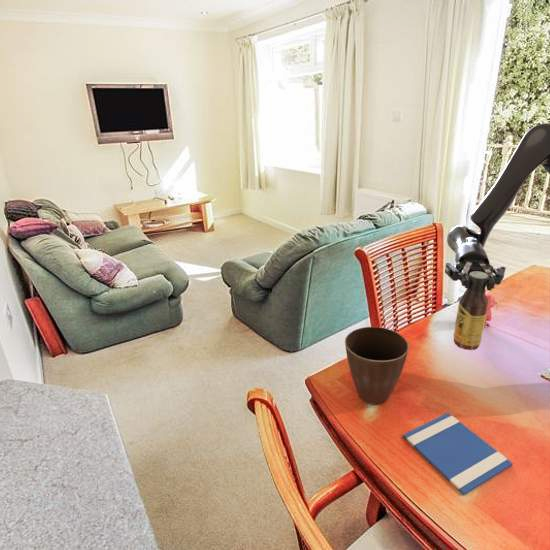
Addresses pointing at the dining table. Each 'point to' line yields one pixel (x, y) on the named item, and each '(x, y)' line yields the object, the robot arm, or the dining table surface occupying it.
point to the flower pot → (375, 361)
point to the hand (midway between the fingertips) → (478, 285)
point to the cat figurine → (489, 307)
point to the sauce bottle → (472, 313)
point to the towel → (457, 452)
